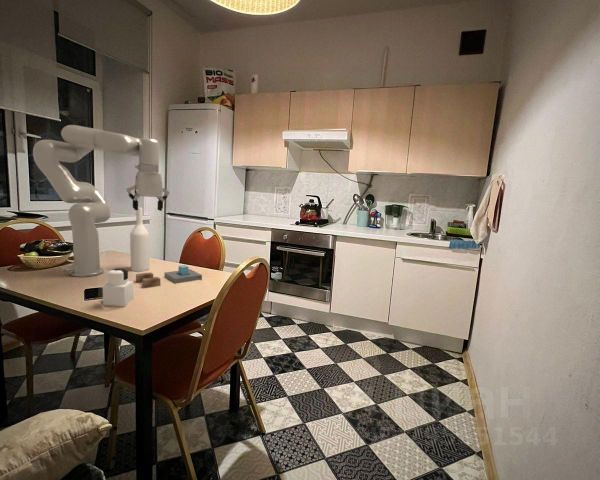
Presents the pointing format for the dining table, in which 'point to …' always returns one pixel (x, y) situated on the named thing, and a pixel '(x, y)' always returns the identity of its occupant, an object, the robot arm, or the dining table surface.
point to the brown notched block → (147, 280)
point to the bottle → (139, 245)
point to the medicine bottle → (118, 288)
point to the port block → (177, 278)
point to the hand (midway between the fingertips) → (148, 210)
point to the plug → (183, 270)
